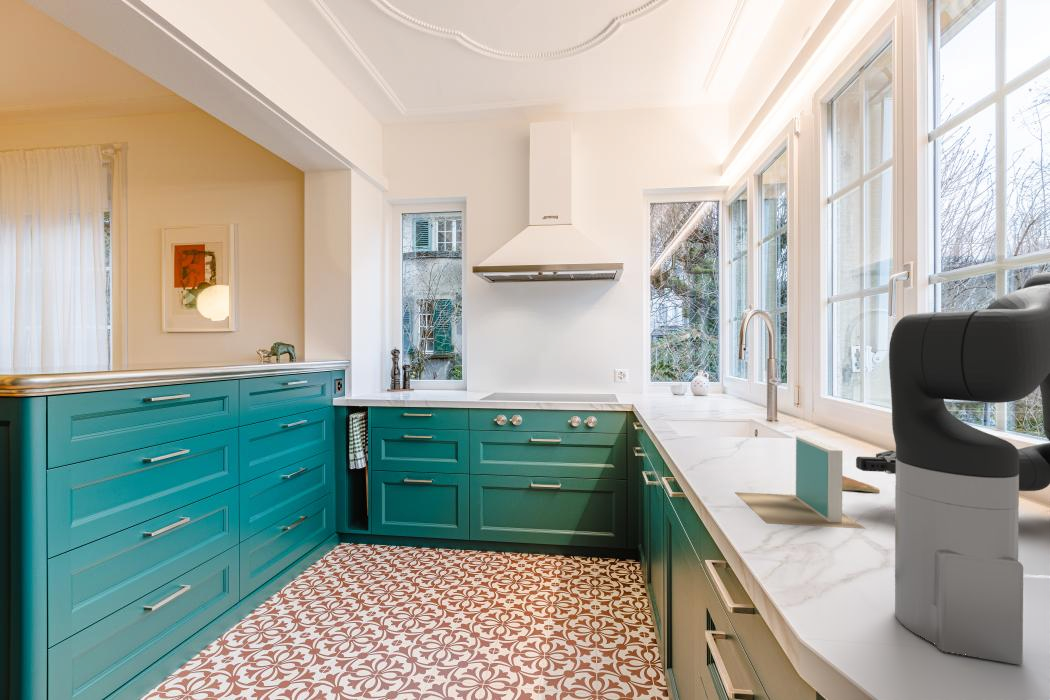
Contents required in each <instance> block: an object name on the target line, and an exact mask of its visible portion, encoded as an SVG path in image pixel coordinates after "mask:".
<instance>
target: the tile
mask: <svg viewBox="0 0 1050 700" xmlns="http://www.w3.org/2000/svg"><path fill="white" fill-rule="evenodd" d="M842 476H843V450H842V449H840V448H836V447H834V446H831V445H830V444H826V443H824V442H822V441H819V440H817V439H814V438H811V437H808V436H795V495H796V499H797V500H799V501H800V502H802V503H803V504H805V505H806V506H807V507H809V508H810V509H812V510H813V511H814V512H816V513H817V514H819V515H820V516H821V517H823V518H824V519H826V520H827V521H828V522H840V523H842V513H843V490H842Z"/></svg>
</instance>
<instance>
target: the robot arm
mask: <svg viewBox="0 0 1050 700" xmlns="http://www.w3.org/2000/svg"><path fill="white" fill-rule="evenodd" d="M888 350H889V351H888V369H889V370H888V371H889V380H890V395H891V399H890V400H891V423H892V424H891V425H892V434H893V438H894V439H893V440H894V442H895V451H894V450H887V451H883V452H879V453H876V454H875V456H857V457H856V458H855V466H856V468H857V469H858V470H860V471H862V472H878V473H879V472H882V473H885V474H887V475H893V474H894V475H895V503H894V505H895V507H894V508H895V510H894V511H895V512H894V514H895V515H894V517H895V518H894V523H895V524H894V531H895V533H894V536H895V537H894V614H895V617H896V618H897V620H898V621H899V622H900V623H901V624H902V625H903V626H904V627H905V628H906V629H908V630H909V631H911V632H912V633H914V634H915V635H917V636H918V635H919V636H918V637H920V636H921V637H920V638H922V637H923V638H922V639H924V638H925V639H924V640H926V641H928V640H929V641H928V642H930V641H931V642H933V643H935V644H936V645H937V646H938V647H939V648H940V649H941V650H942V651H941V650H940V649H939V648H938V647H937V646H936V645H935V644H934V645H935V646H936V647H937V648H938V649H939V650H940V651H941V652H943V651H946V652H945V653H948V652H954V653H958V654H957V655H959V654H964V655H963V656H965V654H966V655H969V656H968V657H971V656H972V658H977V657H978V658H979V659H982V660H983V659H985V660H990V661H996V662H1002V663H1006V664H1014V665H1018V666H1019V665H1020V666H1023V662H1024V661H1023V659H1024V655H1023V653H1024V648H1023V647H1024V644H1023V643H1024V566H1023V563H1021V562H1020V561H1019V506H1020V505H1019V504H1020V499H1019V497H1020V493H1019V492H1036V491H1037V492H1038V491H1041V490H1044V489H1046V488H1048V486H1050V271H1046V272H1039V273H1034V274H1032V275H1031V276H1029V278H1028V279H1026V281H1025V283H1024V285H1023V286H1022V288H1021V289H1018V290H1015V291H1012V292H1009V293H1007V294H1005V295H1003V296H1000V297H999V298H997V299H995V300H994V301H993V302H991V303H990V304H989V305H988V306H987V307H986V308H985V309H974V310H973V309H972V310H957V311H956V310H955V311H951V310H950V311H936V312H921V313H920V312H918V313H912V314H908V315H905V316H904V317H902V318H900V319H899V320H898V322H897V323H896V324H895V326H894V328H893V330H892V332H891V336H890V341H889V348H888ZM1038 387H1039V388H1040V395H1041V404H1042V405H1041V406H1042V421H1043V431H1044V434H1045V435H1044V436H1045V437H1046V438H1047V440H1048V441H1049V442H1046V443H1041V444H1035V445H1030V446H1025V447H1021V448H1017V446H1015V445H1014V444H1012V443H1011V442H1009V441H1007V440H1006V439H1003V438H1002V437H1001V438H1000V437H998V436H996V435H993V434H990V433H987V432H985V431H982V430H980V429H978V428H975V427H974V426H972V425H969V424H967V423H965V422H964V421H962V420H960V419H959V418H958V417H956V416H955V415H953V414H952V413H951V412H950V411H949V410H948V408H947V407H946V404H945V400H948V401H949V400H952V401H953V400H954V401H965V402H975V403H976V402H978V403H989V404H990V403H991V404H995V403H997V404H999V403H1011V402H1016V401H1020V400H1023V399H1024V398H1026V397H1028V396H1029V395H1031V394H1032V393H1033V392H1034V391H1035V390H1037V389H1038ZM931 642H930V643H931ZM933 643H932V644H933ZM954 653H953V654H954Z"/></svg>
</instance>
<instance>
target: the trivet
mask: <svg viewBox="0 0 1050 700" xmlns="http://www.w3.org/2000/svg"><path fill="white" fill-rule="evenodd" d="M734 493H735V494H736V495H737V496H738V497H739V499H741V500H742V501H743V502H744V503H745V504H746V505H747V506H748V507H749V508H751V510H752V511H753V512H755V514H756V515H758V517H760V518H761V519H762V521H764V522H765V523H766V524H776V525H792V526H810V527H812V526H813V527H815V526H816V527H831V528H832V527H833V528H848V529H850V528H851V529H865V527H864V526H862V525H861V524H860V523H858V522H856V520H854V519H852V518H850V517H848V516H847V515H845V514H844V513H843V512H842V523H840V522H828V521H827V520H826V519H824V518H823V517H821V516H820V515H819V514H817V513H816V512H814V511H813V510H812V509H810V508H809V507H807V506H806V505H805V504H803V503H802V502H800V501H799V500H797V499H796V494H783V493H781V494H779V493H755V492H738V491H737V492H734Z"/></svg>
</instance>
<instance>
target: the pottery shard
mask: <svg viewBox="0 0 1050 700" xmlns="http://www.w3.org/2000/svg"><path fill="white" fill-rule="evenodd" d="M842 491H860V492H869V493H873V494H880V488H878V487H875V486H873V485H870V484H868V483H865V482H861V481H858V480H856V479H853V478H851V477H847V476H844V475H842Z"/></svg>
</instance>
